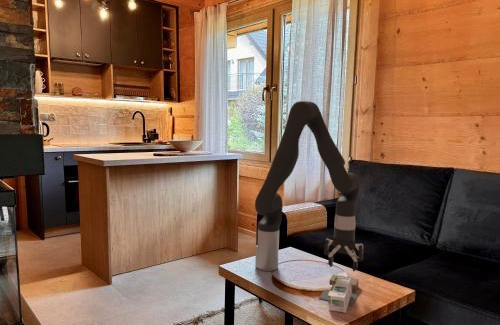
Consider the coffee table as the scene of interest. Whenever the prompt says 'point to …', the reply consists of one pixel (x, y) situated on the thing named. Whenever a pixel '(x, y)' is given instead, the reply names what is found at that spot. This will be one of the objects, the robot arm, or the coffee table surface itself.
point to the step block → (353, 282)
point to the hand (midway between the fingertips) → (342, 268)
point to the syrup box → (340, 294)
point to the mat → (351, 302)
